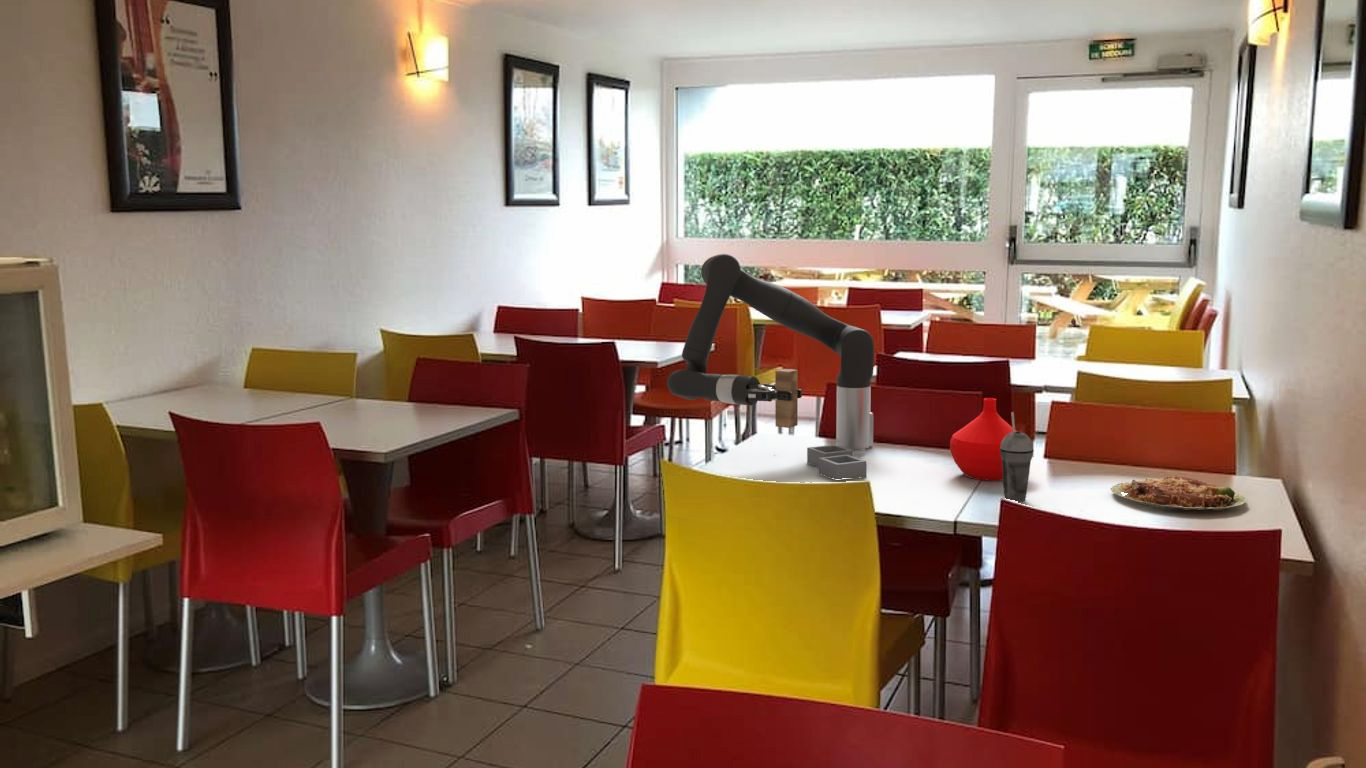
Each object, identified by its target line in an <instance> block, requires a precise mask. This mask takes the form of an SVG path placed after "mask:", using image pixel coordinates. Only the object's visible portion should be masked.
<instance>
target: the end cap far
mask: <svg viewBox="0 0 1366 768" xmlns="http://www.w3.org/2000/svg"><path fill="white" fill-rule="evenodd" d="M806 453H807V454H806V456H807V457H806V462H807V464H809V463H810V465H813V466H815V467H817V468H819V458H823V457H831V456H840V455H850V456H853V457H854V450H850V449H847V448H844V447H841V446H838V445H836V444H829V445H828V444H827V445H826V444H825V445H817V446H810V447H809V446H808V447H806Z"/></svg>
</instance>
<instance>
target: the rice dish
mask: <svg viewBox="0 0 1366 768" xmlns="http://www.w3.org/2000/svg"><path fill="white" fill-rule="evenodd" d="M1110 490H1111V492H1112V494H1115V495H1117V496H1120V497H1122V498H1125V499H1128V500H1130V501H1132V502H1136V503H1138V504H1141V505H1146V506H1151V507H1156V508H1158V509H1161V508H1164V509H1169V508H1170V509H1171V508H1179V509H1181V510H1184V511H1187V510H1188V511H1189V510H1196V511H1200V510H1208V511H1223V510H1225V509H1230V508H1232V507H1238V506H1242V505H1244V504H1245V503H1247V500H1246V498H1245V497H1244V496H1243V495H1240V494H1239V493H1236V492H1235V491H1234V490H1233V488H1232V487H1230V486H1220V487H1218V486H1217V485H1216V484H1208V483H1207V482H1206V481H1205V480H1203V481H1202V480H1198V479H1193V478H1189V477H1185V476H1177V475H1167V476H1165V477H1164V478H1163V477H1161V478H1153V477H1152V478H1151V477H1145V480H1140V479H1139V480H1136V479H1133V480H1132V481H1130V482H1124V483H1123V482H1121V483H1117V484H1115V485H1112V486H1111V488H1110ZM1121 492H1124V493H1128V494H1127V495H1125V496H1122V494H1121ZM1231 504H1232V505H1231Z"/></svg>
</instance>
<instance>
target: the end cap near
mask: <svg viewBox="0 0 1366 768" xmlns="http://www.w3.org/2000/svg"><path fill="white" fill-rule="evenodd" d="M867 463H868V462H867V460H864V459H862V458H859V457H856V456H854V455H853V456H850V455H840V456H831V457H823V458H819V467H818V471H817V472H818V473H819V475H820V474H822V475H821V476H823V475H825V476H824V477H826V476H827V477H826V478H828V477H830V478H829V479H831V478H834V479H842V478H856V479H860V478H859V477H863V478H867V473H868V472H867V470H868V468H867V467H868V466H867ZM835 481H836V482H838V481H841V480H835Z"/></svg>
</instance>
